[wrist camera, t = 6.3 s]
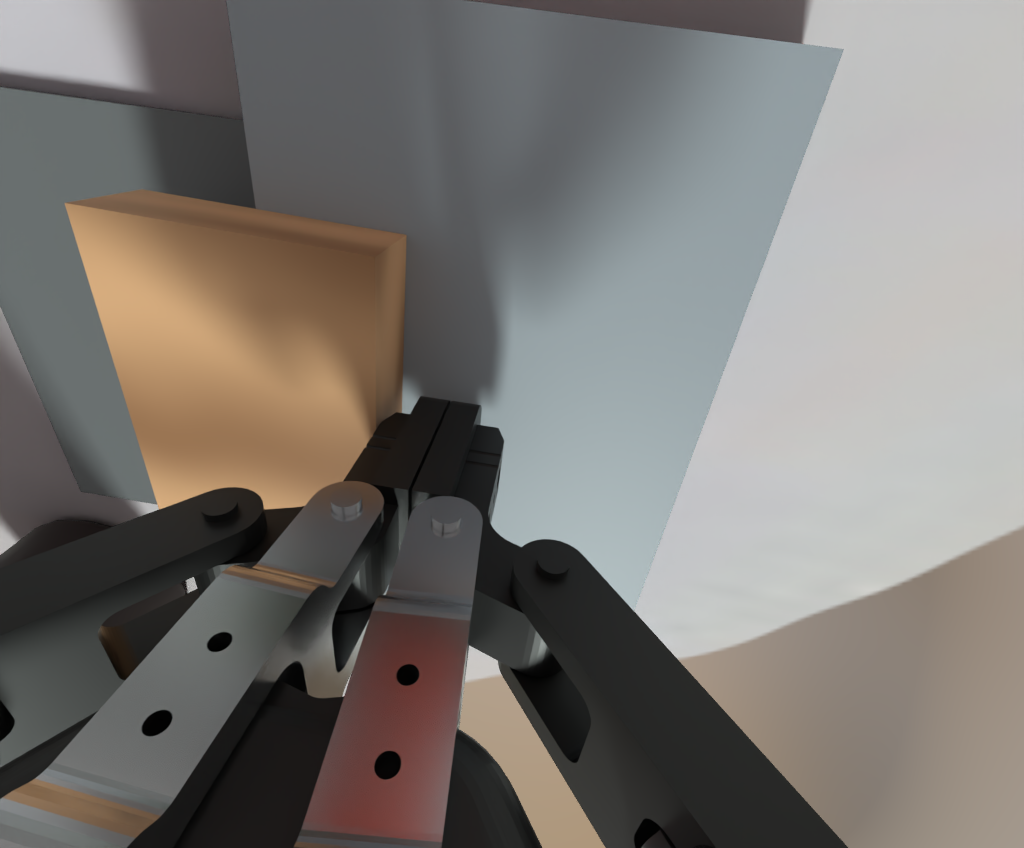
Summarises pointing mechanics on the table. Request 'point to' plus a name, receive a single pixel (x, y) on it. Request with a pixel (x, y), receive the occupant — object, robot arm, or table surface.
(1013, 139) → the table surface
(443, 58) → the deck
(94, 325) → the mat
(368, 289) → the tile
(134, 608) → the bottle
